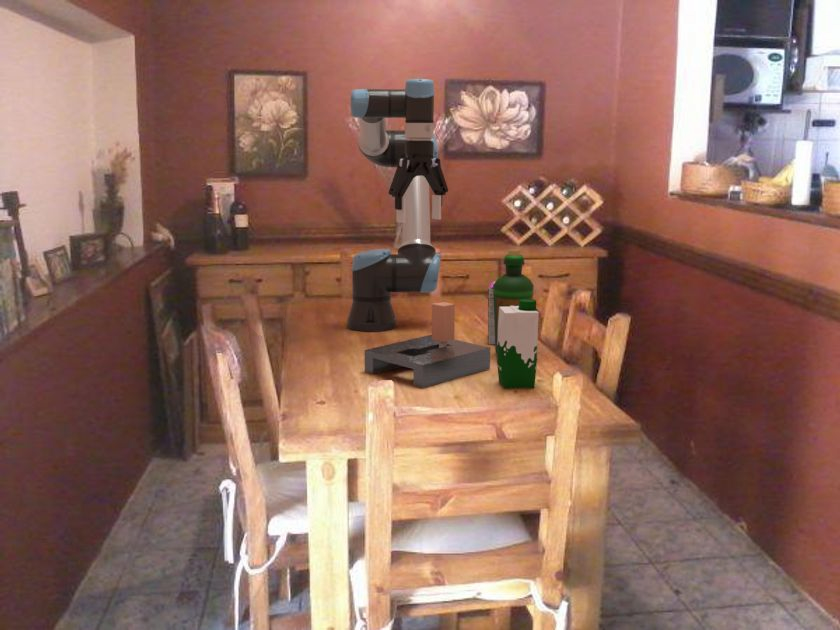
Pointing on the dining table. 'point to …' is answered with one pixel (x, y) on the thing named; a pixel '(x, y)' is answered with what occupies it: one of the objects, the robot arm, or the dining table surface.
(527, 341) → the milk carton
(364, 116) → the robot arm
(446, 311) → the keyhole peg
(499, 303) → the bottle
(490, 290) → the candy bar box
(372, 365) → the keyhole bracket
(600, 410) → the dining table surface
